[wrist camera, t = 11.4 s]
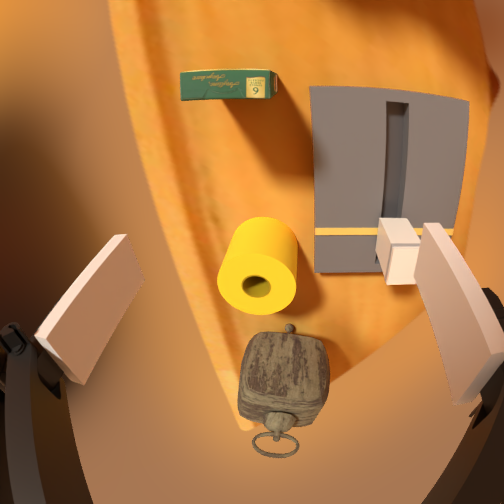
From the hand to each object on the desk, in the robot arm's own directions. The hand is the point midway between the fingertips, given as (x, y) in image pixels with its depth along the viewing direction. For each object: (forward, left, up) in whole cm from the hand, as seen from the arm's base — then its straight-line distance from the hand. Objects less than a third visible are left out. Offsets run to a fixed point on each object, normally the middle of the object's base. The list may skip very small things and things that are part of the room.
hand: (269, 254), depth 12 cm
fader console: (+7, +13, -28) cm, 31 cm away
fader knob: (+13, +13, -28) cm, 33 cm away
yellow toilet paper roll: (+17, -5, -28) cm, 33 cm away
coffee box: (-7, -5, -28) cm, 29 cm away
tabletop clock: (+36, -2, -28) cm, 46 cm away
